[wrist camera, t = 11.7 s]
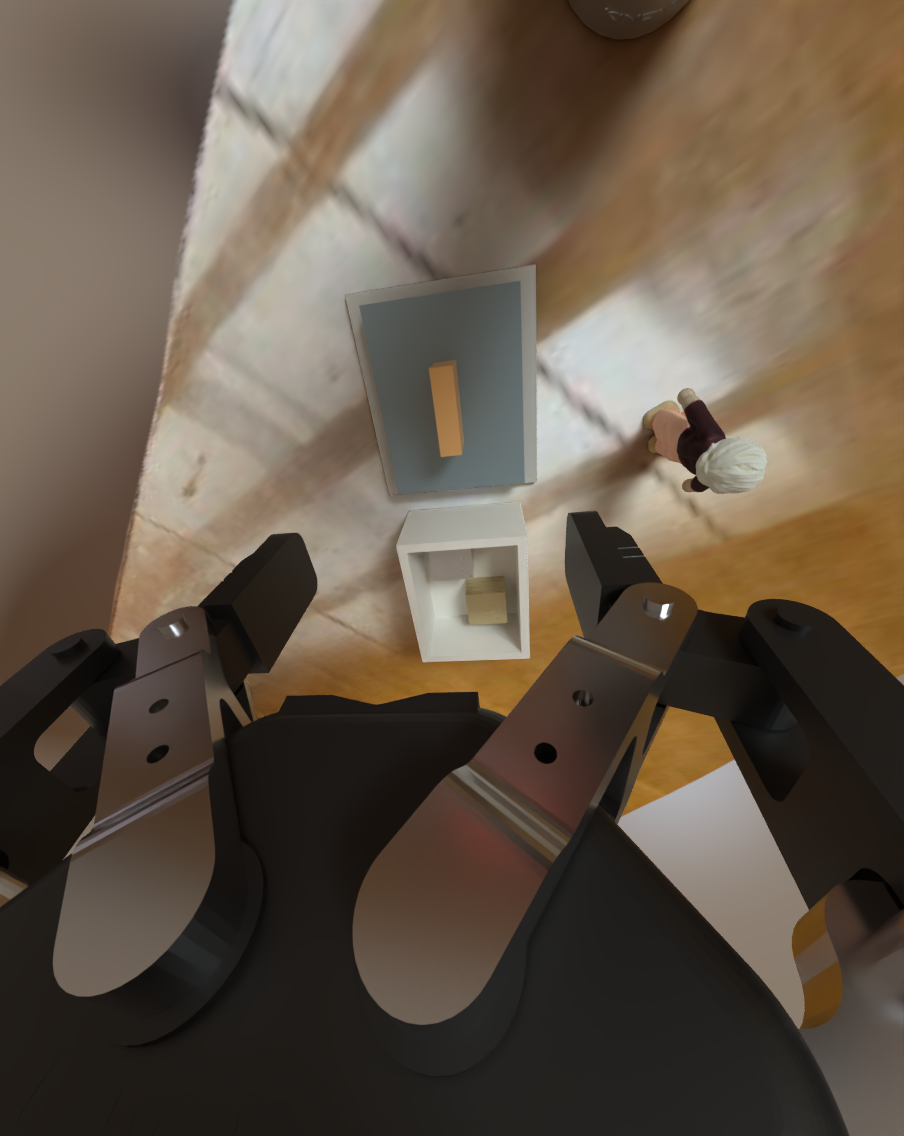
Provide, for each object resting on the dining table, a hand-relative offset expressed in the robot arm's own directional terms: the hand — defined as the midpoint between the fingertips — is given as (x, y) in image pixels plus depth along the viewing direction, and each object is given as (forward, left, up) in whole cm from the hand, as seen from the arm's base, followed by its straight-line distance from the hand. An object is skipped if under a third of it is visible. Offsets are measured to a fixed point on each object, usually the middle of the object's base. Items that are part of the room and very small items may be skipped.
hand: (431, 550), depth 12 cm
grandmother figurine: (+4, +16, -25) cm, 30 cm away
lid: (0, -1, -25) cm, 25 cm away
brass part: (+20, 0, -24) cm, 31 cm away
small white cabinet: (+17, -1, -25) cm, 30 cm away
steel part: (+14, -3, -24) cm, 28 cm away
